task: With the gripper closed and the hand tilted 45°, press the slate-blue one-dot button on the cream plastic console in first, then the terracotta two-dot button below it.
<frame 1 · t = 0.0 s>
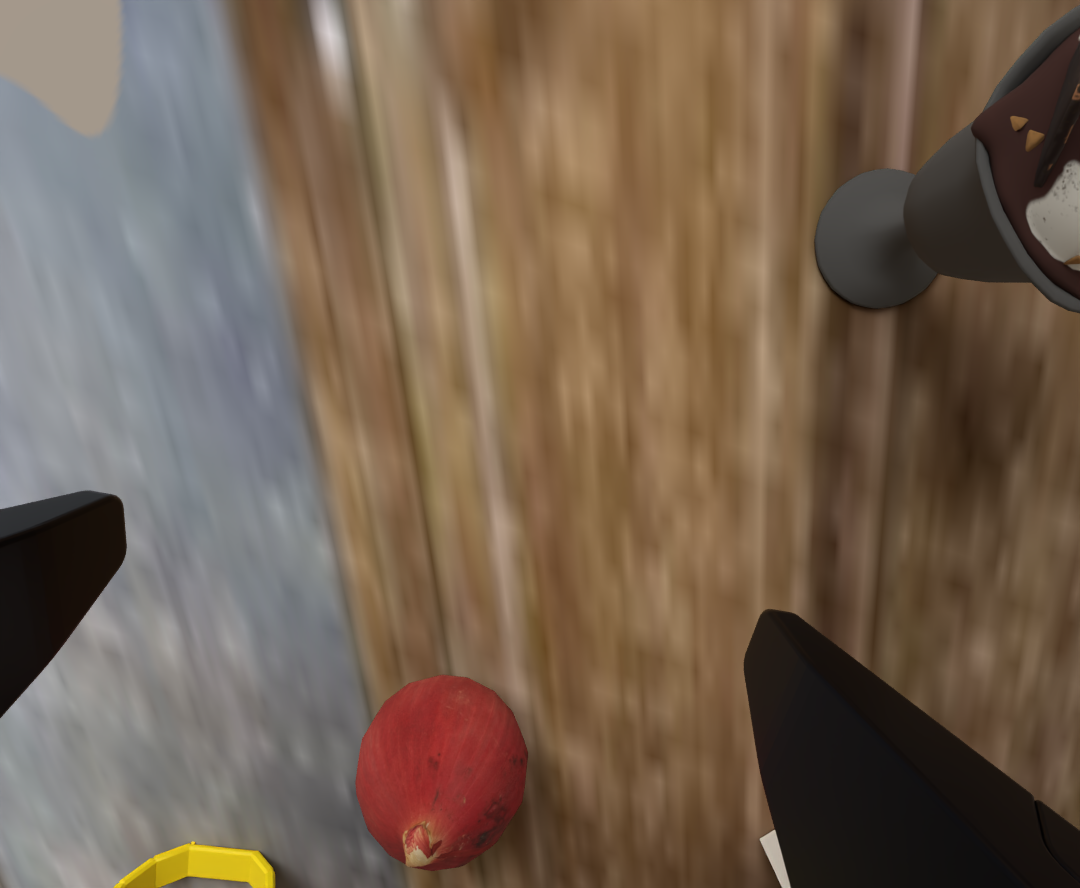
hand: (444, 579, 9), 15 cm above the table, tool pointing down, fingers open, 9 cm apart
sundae: (879, 240, 23), on the table
onion: (456, 704, 26), on the table
console: (894, 868, 27), on the table
watch: (225, 856, 27), on the table
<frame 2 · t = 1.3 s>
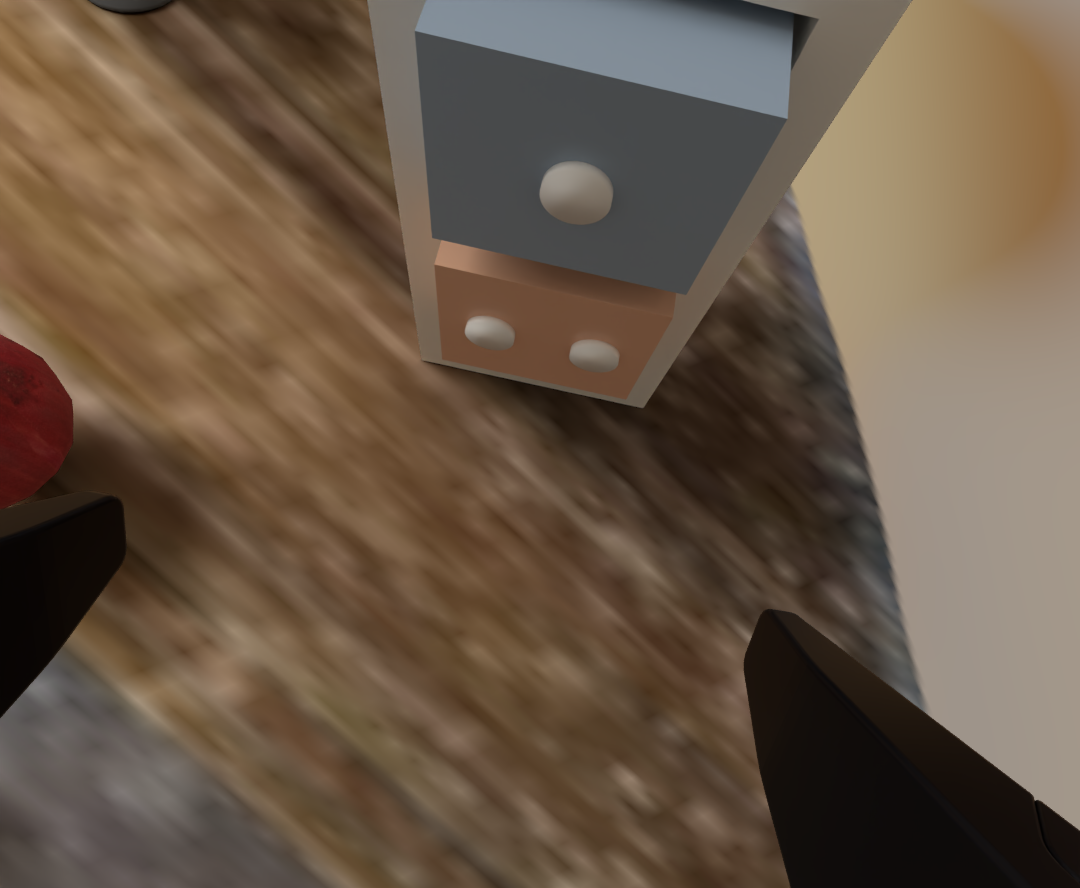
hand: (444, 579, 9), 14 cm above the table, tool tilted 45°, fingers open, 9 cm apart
onion: (33, 461, 22), on the table
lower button: (550, 307, 18), point 7 cm above the table, slide at 0.0 cm
console: (550, 299, 27), on the table
upper button: (586, 145, 13), point 13 cm above the table, slide at 0.0 cm
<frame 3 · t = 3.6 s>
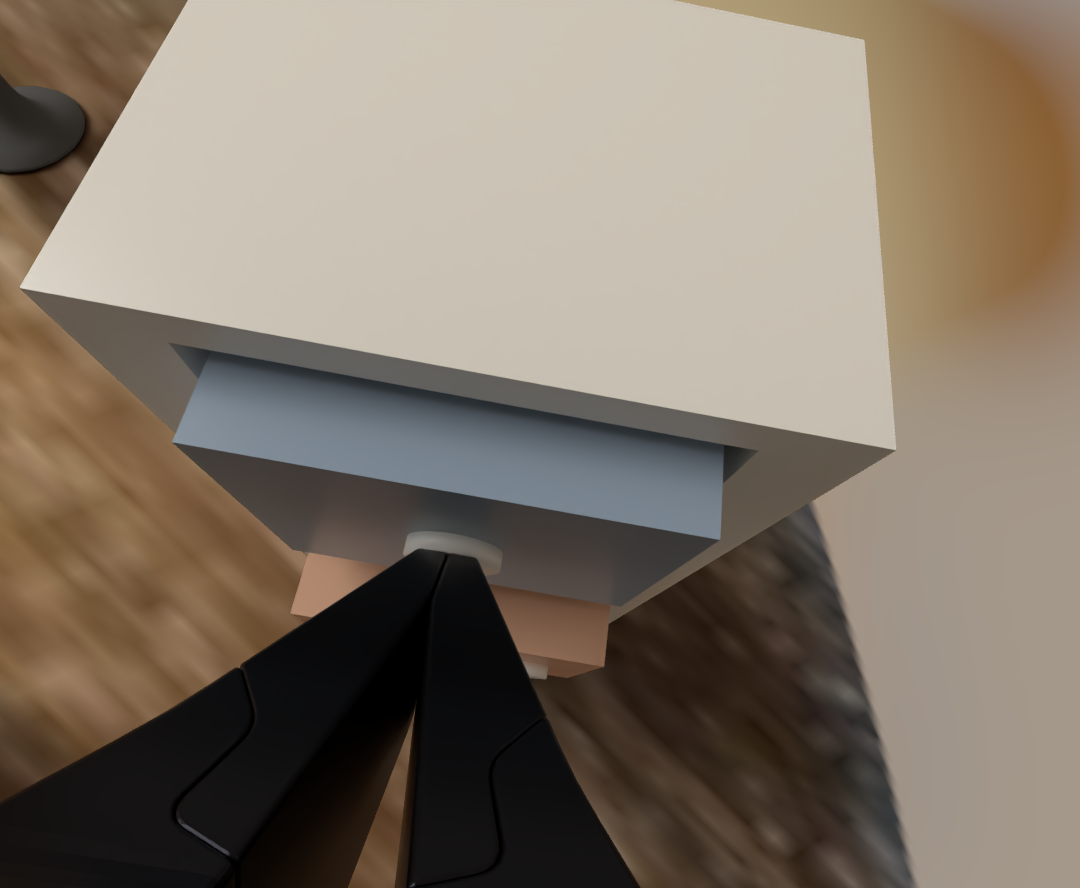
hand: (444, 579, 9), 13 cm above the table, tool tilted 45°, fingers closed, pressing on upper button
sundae: (27, 133, 27), on the table
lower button: (461, 601, 15), point 7 cm above the table, slide at 0.0 cm
console: (490, 496, 23), on the table
upper button: (470, 473, 10), point 13 cm above the table, slide at 1.0 cm, touching gripper
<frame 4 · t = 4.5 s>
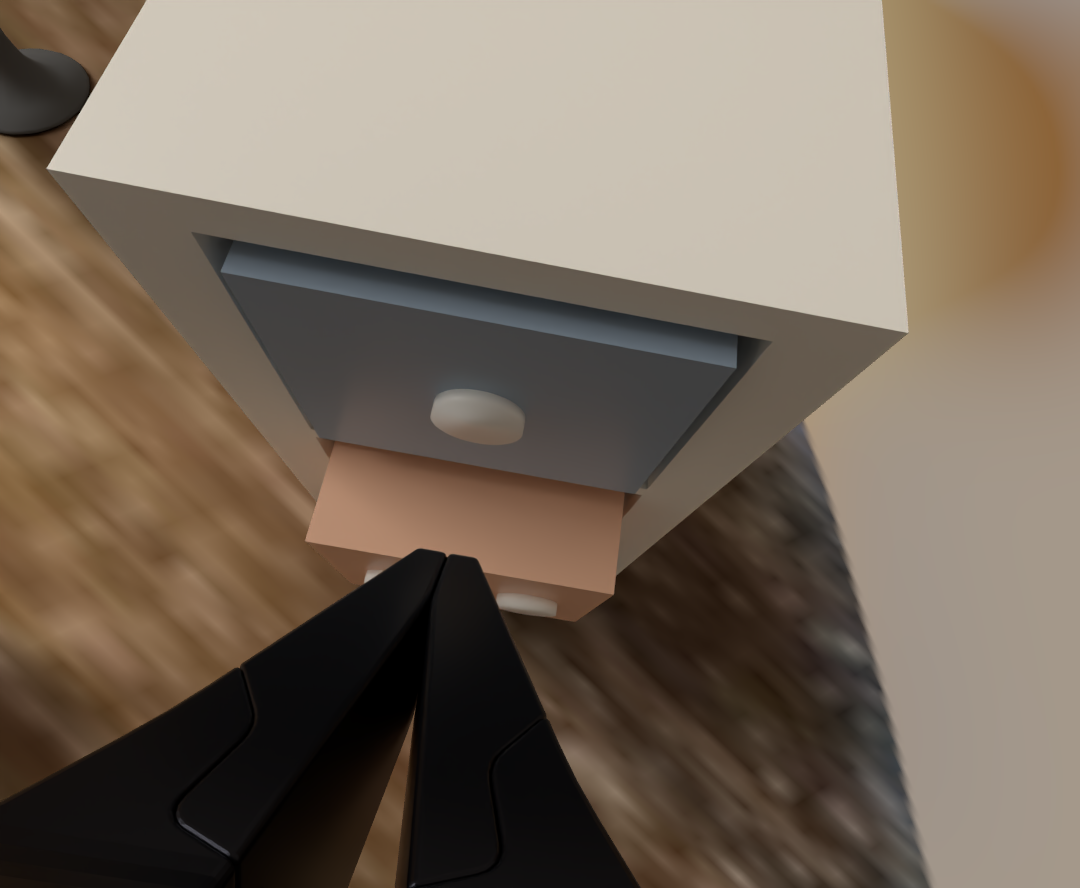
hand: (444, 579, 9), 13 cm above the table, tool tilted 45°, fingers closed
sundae: (31, 95, 27), on the table
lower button: (472, 540, 15), point 7 cm above the table, slide at 0.0 cm
console: (497, 454, 23), on the table
upper button: (493, 347, 10), point 13 cm above the table, slide at 1.8 cm
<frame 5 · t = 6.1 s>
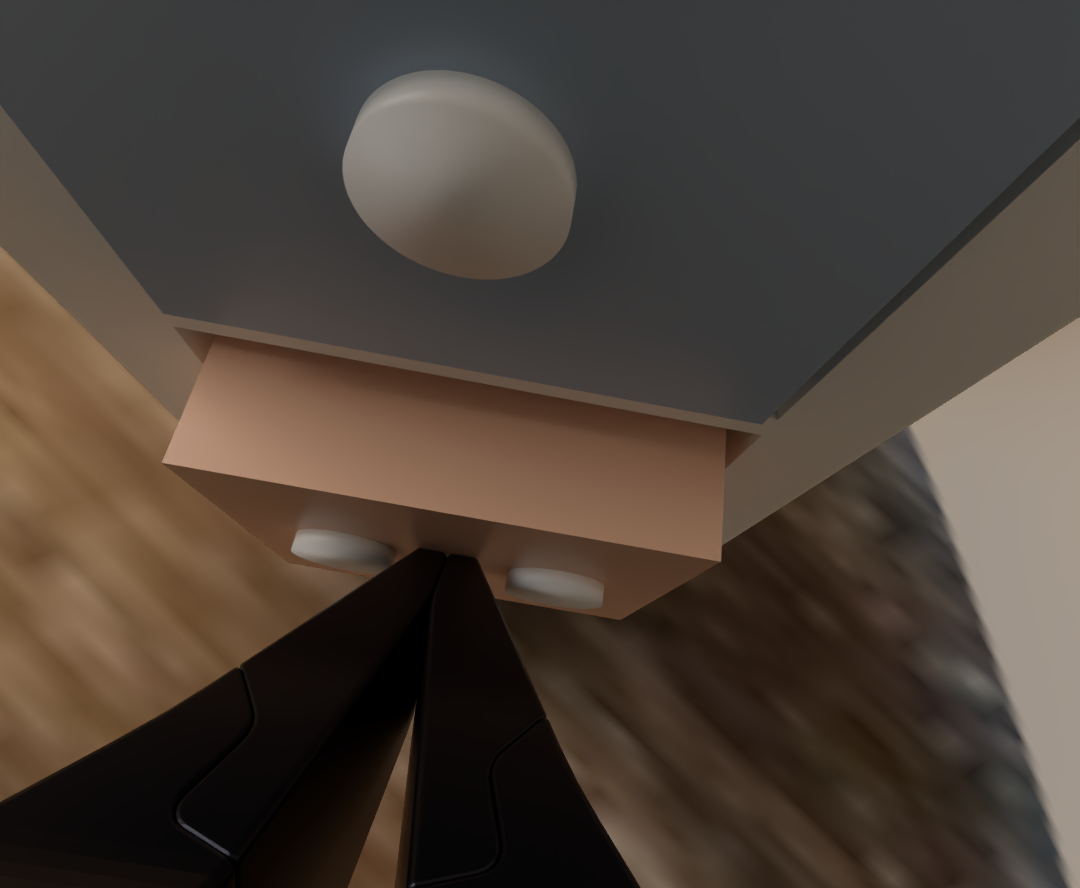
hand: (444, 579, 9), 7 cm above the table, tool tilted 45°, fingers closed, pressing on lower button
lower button: (467, 488, 9), point 7 cm above the table, slide at 0.6 cm, touching gripper
console: (498, 422, 18), on the table
upper button: (497, 55, 4), point 13 cm above the table, slide at 1.8 cm
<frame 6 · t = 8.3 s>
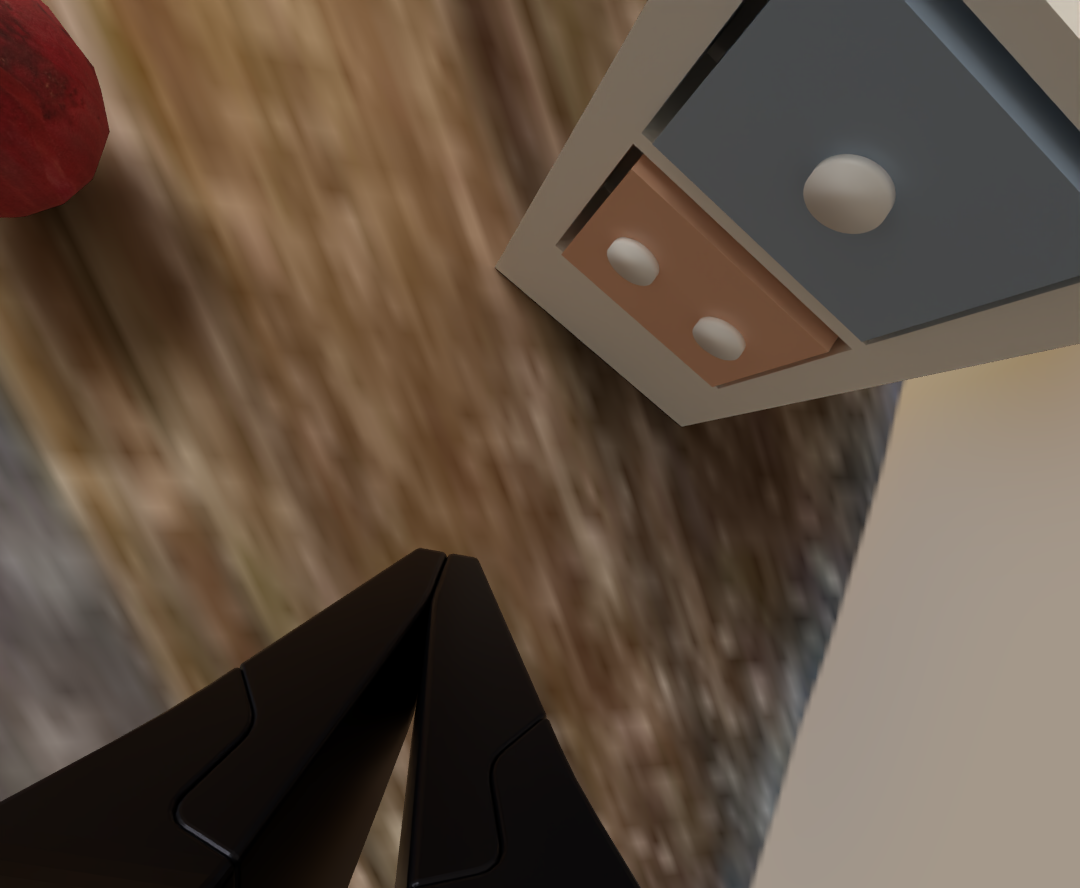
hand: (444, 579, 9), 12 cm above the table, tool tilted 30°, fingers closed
onion: (39, 169, 19), on the table
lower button: (702, 266, 17), point 7 cm above the table, slide at 1.8 cm
console: (650, 270, 24), on the table
upper button: (882, 144, 11), point 13 cm above the table, slide at 1.8 cm
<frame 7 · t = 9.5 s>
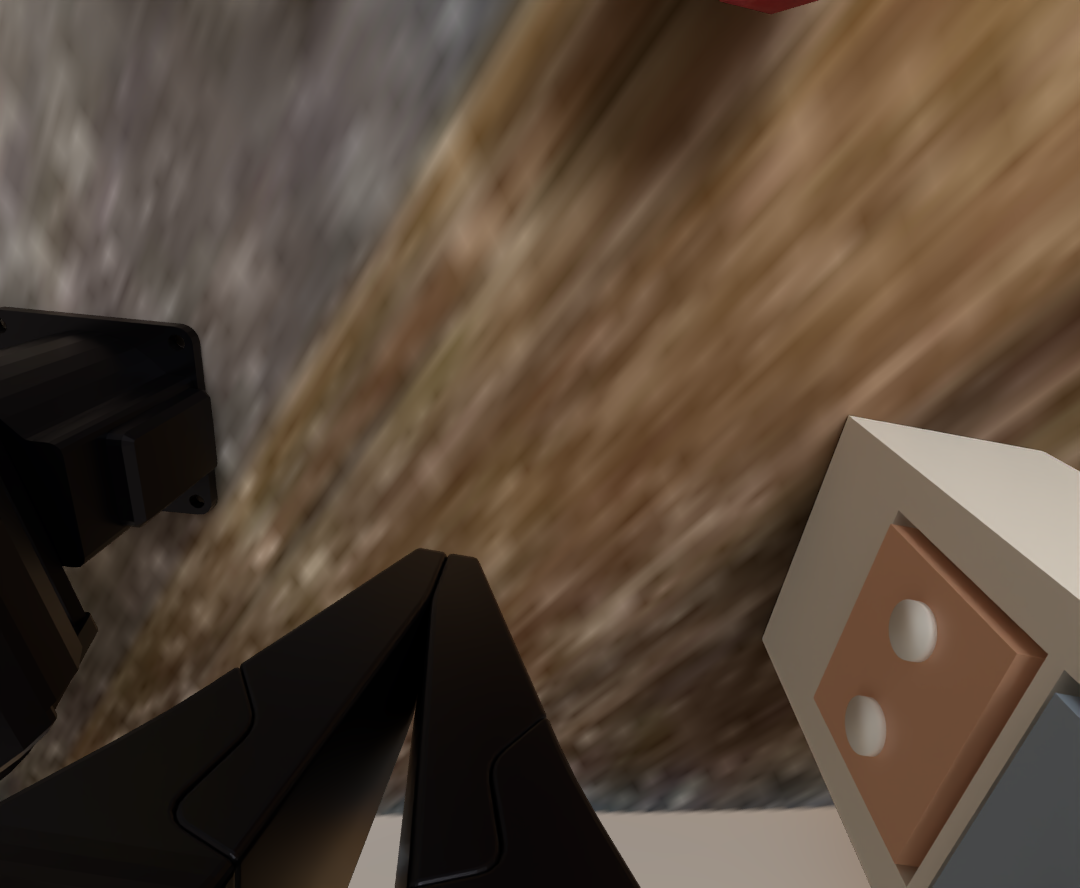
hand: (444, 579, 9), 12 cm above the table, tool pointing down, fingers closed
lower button: (936, 688, 15), point 7 cm above the table, slide at 1.8 cm
console: (913, 555, 22), on the table
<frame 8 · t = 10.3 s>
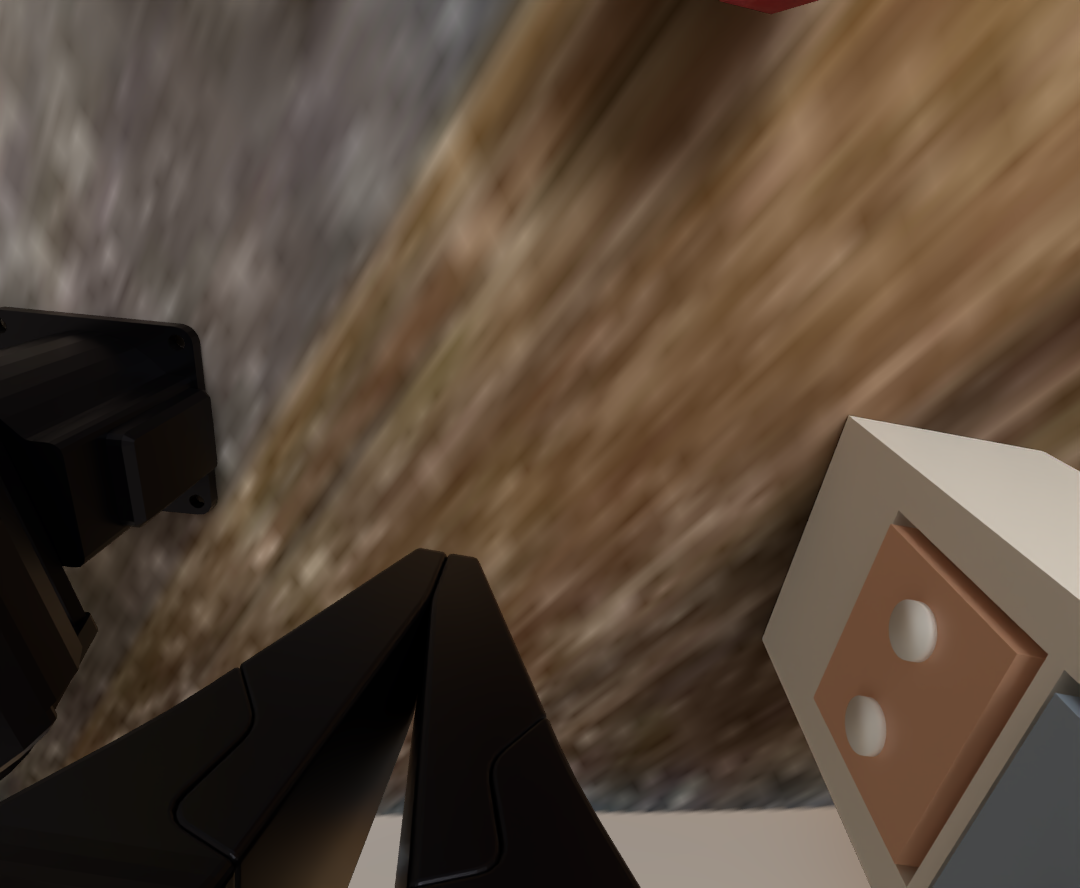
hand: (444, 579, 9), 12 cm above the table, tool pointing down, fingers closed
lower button: (936, 688, 15), point 7 cm above the table, slide at 1.8 cm
console: (913, 555, 22), on the table
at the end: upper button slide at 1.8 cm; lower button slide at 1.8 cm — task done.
